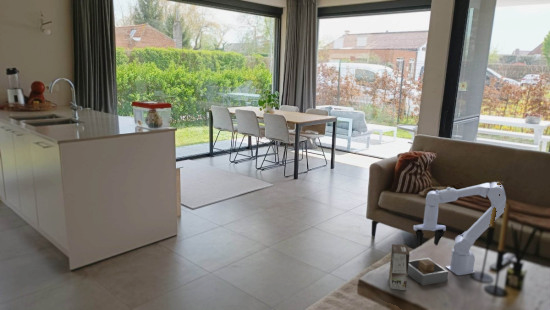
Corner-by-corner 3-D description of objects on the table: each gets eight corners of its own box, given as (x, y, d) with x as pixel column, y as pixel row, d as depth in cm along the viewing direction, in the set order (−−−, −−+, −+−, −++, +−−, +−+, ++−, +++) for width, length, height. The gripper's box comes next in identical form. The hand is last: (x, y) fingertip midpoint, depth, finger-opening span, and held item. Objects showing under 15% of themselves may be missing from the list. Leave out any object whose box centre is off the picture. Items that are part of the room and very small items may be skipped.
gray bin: (427, 266, 183) (428, 257, 182) (447, 280, 171) (448, 271, 170) (403, 270, 179) (404, 261, 178) (422, 285, 167) (423, 275, 166)
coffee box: (406, 290, 163) (410, 254, 159) (390, 288, 164) (393, 253, 160) (403, 279, 171) (407, 245, 168) (388, 277, 172) (391, 243, 169)
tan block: (426, 271, 177) (427, 259, 176) (433, 276, 173) (434, 263, 172) (417, 272, 176) (419, 260, 174) (424, 277, 172) (425, 265, 170)
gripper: (418, 220, 177) (415, 248, 180) (450, 220, 177) (446, 248, 180) (412, 214, 183) (409, 241, 186) (443, 214, 184) (439, 241, 187)
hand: (427, 244), depth 184 cm, fingers open, 7 cm apart
